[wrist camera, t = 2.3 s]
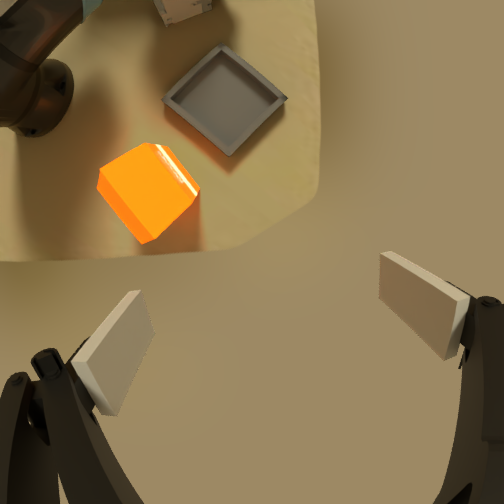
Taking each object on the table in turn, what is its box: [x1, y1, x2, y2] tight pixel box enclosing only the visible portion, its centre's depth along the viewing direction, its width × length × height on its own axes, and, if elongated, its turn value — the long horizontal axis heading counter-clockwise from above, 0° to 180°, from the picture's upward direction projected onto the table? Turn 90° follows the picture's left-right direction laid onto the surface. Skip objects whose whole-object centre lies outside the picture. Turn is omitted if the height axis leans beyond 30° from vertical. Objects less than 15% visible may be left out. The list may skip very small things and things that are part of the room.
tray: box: [161, 43, 288, 157], centre depth 37 cm, size 14×13×2 cm
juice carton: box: [96, 143, 200, 244], centre depth 32 cm, size 8×9×20 cm
